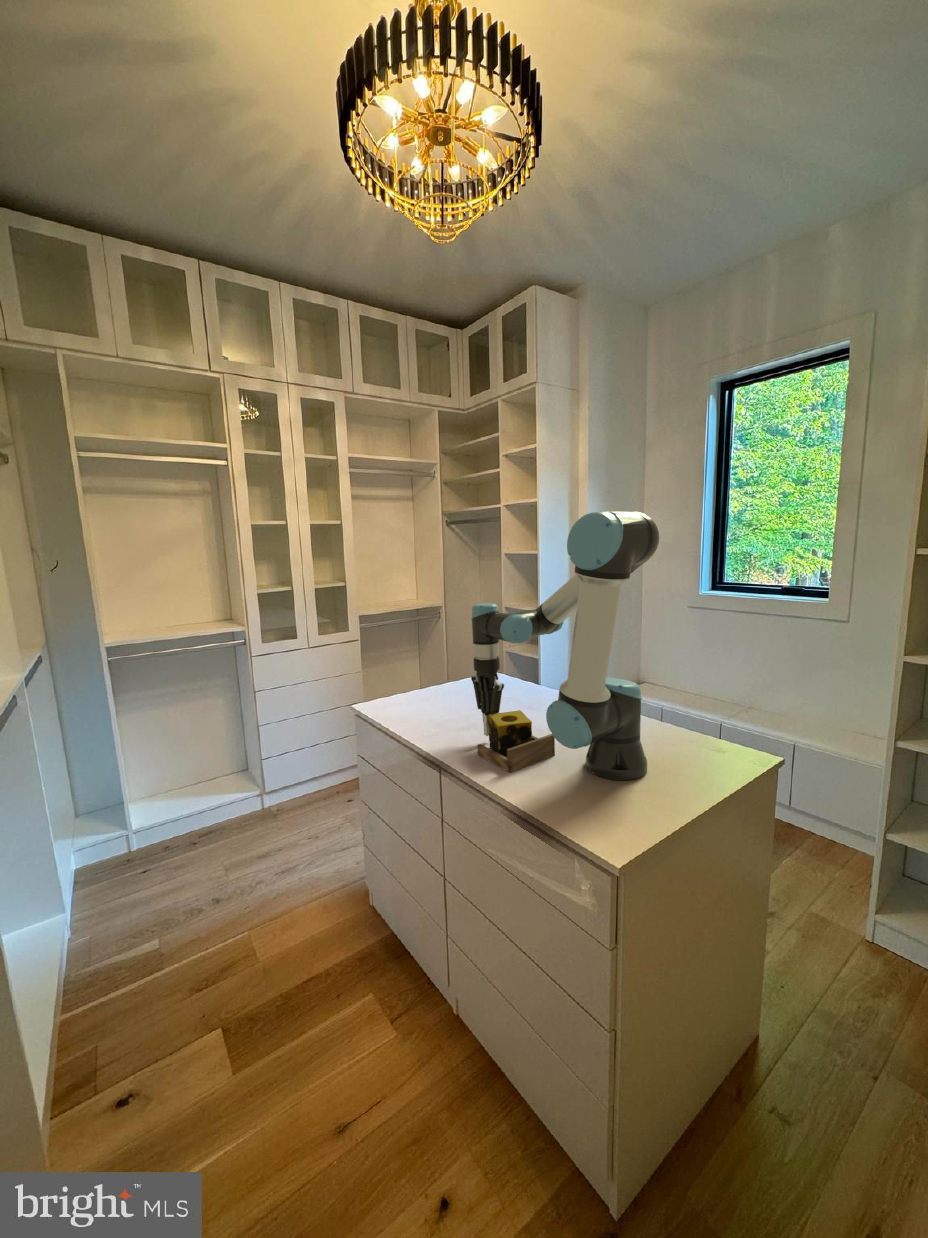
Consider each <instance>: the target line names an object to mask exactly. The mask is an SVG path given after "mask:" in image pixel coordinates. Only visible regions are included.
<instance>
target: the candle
mask: <svg viewBox="0 0 928 1238" xmlns="http://www.w3.org/2000/svg"><path fill="white" fill-rule="evenodd" d="M488 717H489V736H488V741H489V747H490V749H491V750H493V751H495V752H497V753H499V754H501V755H503V756H505V757H507V749H509V748H512V747H515V746H518V745H521V744H524V743H527V742H529V741H532V736H533V732H532V731H533V730H532V725H533V722H532V720H531V719H529V717H527V715H526V714H525V713H524V712H523V711H522V710H510V711H504V712H499V713H495V714H489V715H488Z"/></svg>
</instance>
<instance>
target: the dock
mask: <svg viewBox="0 0 928 1238" xmlns="http://www.w3.org/2000/svg"><path fill="white" fill-rule="evenodd" d="M555 740H556V739H555V738H554V736H553V735H552V733H550V734H546V735H545V736H541V737H537V736H534V735H532V741H529V742H527V743H524V744H521V745H518V746H515V747H512V748H509V749H507V757H505V756H503V755H501V754H499V753H497V752H495V751H493V750H492V749H491V748H489V747H487V746H486V745H484V744H482V743H479V744H477V755H478V757H481V758H483V759H484V760H486V761H489V762H490V763H492V764H494V765H496V766H497V765H498V766H497V767H499V768H501V769H503V770H504V769H505V770H504V771H506V772H507V773H508V772H509V773H512V772H515V771H518V770H520V769H523V768H526V767H528V766H532V765H535V764H537V763H538V762H539V763H540V762H541V761H544V760H546V759H549V758H552V757H555V755H556V750H555V749H556V748H555V746H556V745H555V744H556V743H555V742H556V741H555Z"/></svg>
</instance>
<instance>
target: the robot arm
mask: <svg viewBox="0 0 928 1238" xmlns="http://www.w3.org/2000/svg"><path fill="white" fill-rule="evenodd" d="M659 532H660V531H659V528H658V526H657V524H656V522H655V520H653V519H652V518H651V517H650V516H649V515H647V514H645V513H642V512H640V511H634V510H633V511H632V510H631V511H612V510H611V511H610V510H600V511H595V512H594V511H593V512H590V513H586V514H584V515H583V516H581V517H580V518H579V519H578V520H576V521H575V522H574V524H573V525H572V527H571V529H570V530H569V533H568V536H567V541H566V549H567V554H568V556H570V558H569V560H570V562H571V563H572V564H573V565H574V573H573V574H574V575H573V576H572V577H571V578H570V579H569V580H567V581H566V582H565V583H564V584H563V585H562V586H560V587H559V588H558V589H557V590H556V591H555V592H554V593H553V594H552V595H550V596H549V597H547V598H546V600H544V602H542V603H541V604H540V605H539V606H538V607H536V608H535V609H528V610H523V611H517V612H512V613H511V612H510V613H506V612H499V607H498V604H496V603H493V602H483V603H476V604H474V605H473V606H472V608H471V618H470V619H471V631H472V632H471V633H472V656H473V670H474V671H475V672H476V673H475V675H474V676H471V682H472V684H473V689H474V694H475V695H474V696H475V700H476V707H477V709H478V710H480V712H481V713H482V722H483V735H484V736H485V737H489V717H488V715H489V714H495V713H500V709H501V703H502V702H501V701H502V694H503V690H504V687H505V684H504V683H501V682H500V681H499V675H498V671H499V670H500V667H501V665H500V657H499V656H500V645H499V644H500V643H499V642H500V641H503V642H507V643H511V644H524V643H526V642H527V641H528V640H529V639H530V638H533V637H539V636H544V635H550V634H554V633H555V632H558V631H559V630H561V629H562V628H563V625H564V621H565V620H567V619H568V618H569V617H571V616H572V615H573V614H575V619H574V620H575V621H574V627H573V635H572V643H571V650H570V657H569V666H568V673H567V679H566V680H564V681H563V682H561V683H560V685H559V690H558V698H557V700H554V701H553V702H552V703H550V704H549V705H548V707H547V709H546V713H545V715H546V716H545V717H546V723H547V726H548V729H549V731H550V733H551V734H552V735H553V736H554V738H555V740H556V741H557V742H558V743H559V744H560V745H561V746H564V747H566V748H567V749H572V750H576V749H580V748H586V747H588V746H589V747H588V748H587V753H586V755H585V767H586V768H587V771H589V772H591V773H592V774H594V775H596V776H597V777H600V778H604V779H607V780H613V781H631V780H637V779H640V778H642V777H644V776H645V775H646V774H647V773H648V760H647V758H646V754H645V751H644V747H643V745H642V740H641V720H642V718H641V715H642V711H641V710H642V695H641V694H642V693H641V691H642V690H641V687H640V686H639V684H638V683H636V682H634V681H632V680H627V679H624V678H623V679H622V678H616V677H607V676H608V669H609V664H610V657H611V653H612V652H611V651H612V645H613V639H614V631H615V627H616V626H615V625H616V618H617V613H618V612H617V611H618V607H619V600H620V594H621V593H620V592H621V588H622V587H621V586H622V585H623V584H624V583H626V582H627V581H629V580H630V578H631V574H632V573H633V572H635V571H636V570H637V569H639V568H640V567H641V566H643V565H644V564H645V563H647V562H648V561H649V560H650V559H651V557H653V556H654V555H655V553H656V551H657V549H658V547H659V543H660V533H659ZM575 612H576V613H575Z"/></svg>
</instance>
